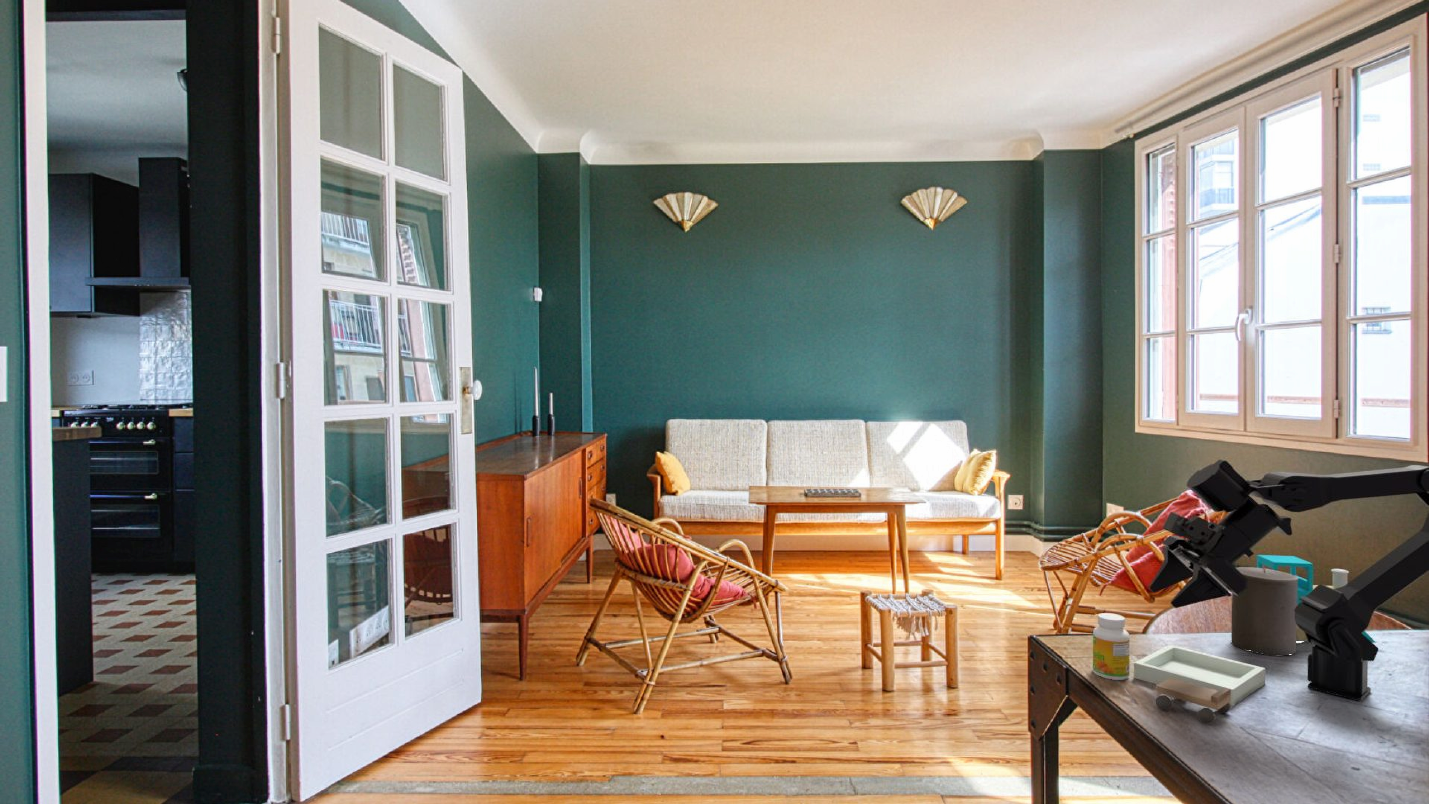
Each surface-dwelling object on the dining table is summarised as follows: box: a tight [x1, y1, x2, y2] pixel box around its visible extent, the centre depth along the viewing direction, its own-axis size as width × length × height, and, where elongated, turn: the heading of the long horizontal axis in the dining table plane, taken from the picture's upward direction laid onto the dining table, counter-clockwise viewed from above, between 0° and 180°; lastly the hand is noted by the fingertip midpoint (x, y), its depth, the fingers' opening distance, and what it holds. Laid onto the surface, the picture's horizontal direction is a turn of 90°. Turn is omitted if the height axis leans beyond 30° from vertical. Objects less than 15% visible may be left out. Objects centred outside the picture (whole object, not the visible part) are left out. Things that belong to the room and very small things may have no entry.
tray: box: [1133, 644, 1266, 707], centre depth 121 cm, size 14×14×2 cm
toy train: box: [1256, 554, 1377, 644], centre depth 142 cm, size 8×17×15 cm, turn 78°
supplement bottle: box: [1092, 612, 1131, 681], centre depth 124 cm, size 5×5×10 cm
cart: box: [1154, 678, 1232, 725], centre depth 110 cm, size 8×7×4 cm
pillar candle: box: [1230, 565, 1299, 656], centre depth 137 cm, size 10×10×15 cm
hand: (1161, 597), depth 122 cm, fingers open, 9 cm apart
